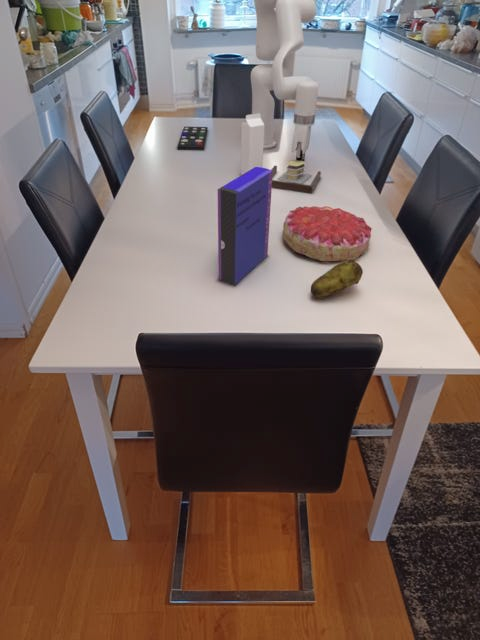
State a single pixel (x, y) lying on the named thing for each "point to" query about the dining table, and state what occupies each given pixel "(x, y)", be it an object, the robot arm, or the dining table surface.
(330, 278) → the green pickle
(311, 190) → the sponge rest
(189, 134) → the remote control
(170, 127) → the dining table surface
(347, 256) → the cake
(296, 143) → the robot arm
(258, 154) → the milk
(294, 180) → the stacked layers on plate
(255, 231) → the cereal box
